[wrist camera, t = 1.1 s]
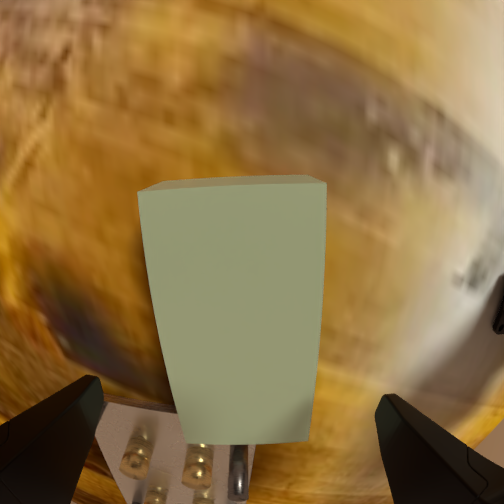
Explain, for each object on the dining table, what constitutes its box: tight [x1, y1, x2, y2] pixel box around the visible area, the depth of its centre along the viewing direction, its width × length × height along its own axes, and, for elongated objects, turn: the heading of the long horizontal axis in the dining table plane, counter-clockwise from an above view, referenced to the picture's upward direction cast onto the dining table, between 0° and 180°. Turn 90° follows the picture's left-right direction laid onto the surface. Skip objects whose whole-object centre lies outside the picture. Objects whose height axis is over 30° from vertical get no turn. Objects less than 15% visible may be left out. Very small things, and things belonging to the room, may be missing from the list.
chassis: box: [95, 393, 256, 504], centre depth 17 cm, size 16×11×6 cm
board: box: [137, 175, 327, 445], centre depth 13 cm, size 12×6×4 cm, turn 2°
